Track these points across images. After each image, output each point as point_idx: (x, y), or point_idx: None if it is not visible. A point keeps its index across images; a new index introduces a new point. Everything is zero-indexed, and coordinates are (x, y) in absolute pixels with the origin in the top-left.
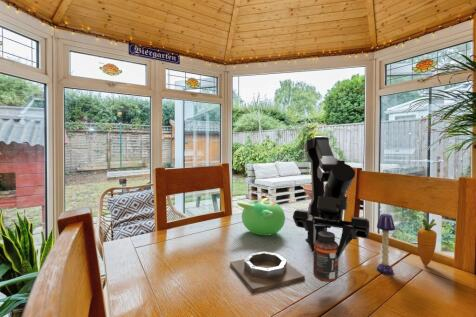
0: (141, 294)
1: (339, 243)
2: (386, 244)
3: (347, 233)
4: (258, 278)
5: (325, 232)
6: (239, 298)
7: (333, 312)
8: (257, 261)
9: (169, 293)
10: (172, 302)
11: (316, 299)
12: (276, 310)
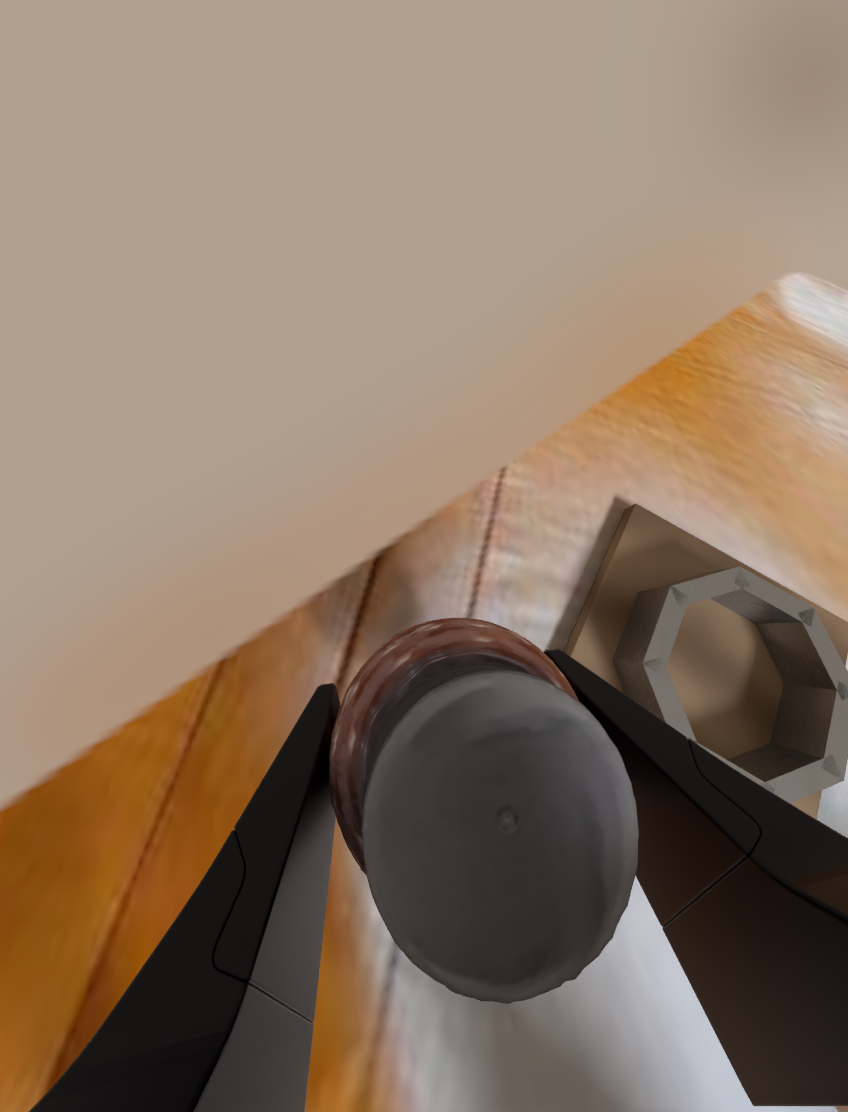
0: (828, 336)
1: (304, 791)
2: None
3: (78, 1099)
4: (671, 578)
5: (544, 881)
6: (634, 460)
7: (353, 568)
8: (782, 708)
9: (789, 374)
10: (745, 352)
11: (430, 607)
12: (511, 472)
